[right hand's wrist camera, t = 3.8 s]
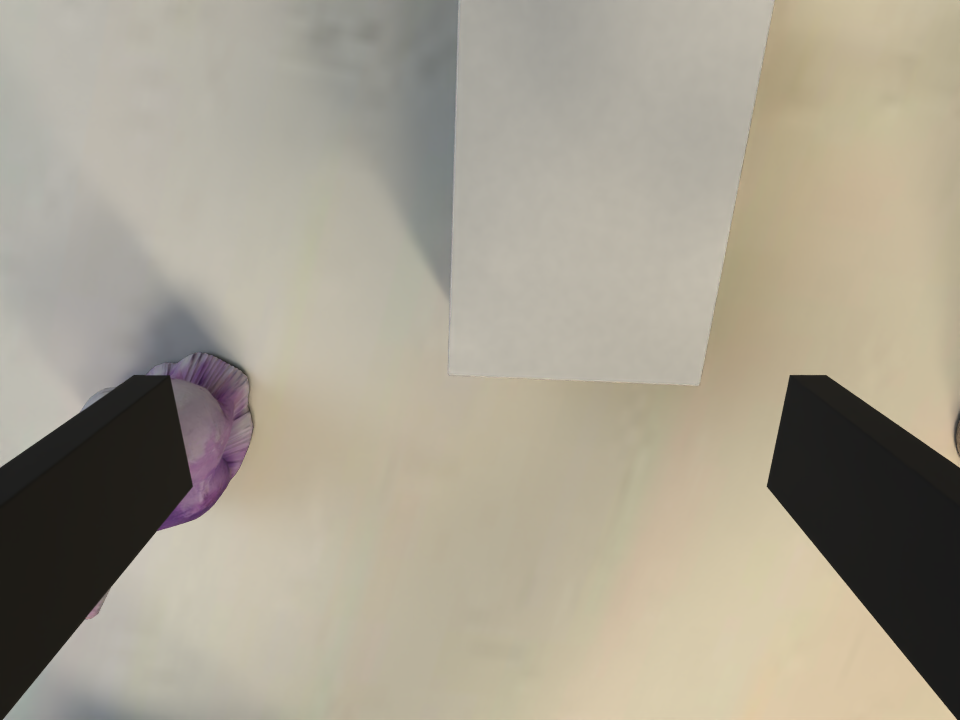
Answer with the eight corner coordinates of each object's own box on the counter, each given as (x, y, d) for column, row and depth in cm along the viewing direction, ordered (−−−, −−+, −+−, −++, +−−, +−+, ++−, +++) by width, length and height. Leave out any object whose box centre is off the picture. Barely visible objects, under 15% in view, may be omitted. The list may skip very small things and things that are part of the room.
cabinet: (466, -24, 28) (461, -98, 19) (694, -11, 28) (791, -79, 19) (455, 315, 34) (447, 376, 25) (643, 323, 34) (700, 386, 25)
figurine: (230, 318, 34) (55, 445, 20) (290, 467, 37) (177, 664, 23) (81, 353, 35) (-190, 500, 21) (153, 496, 38) (-35, 703, 24)
